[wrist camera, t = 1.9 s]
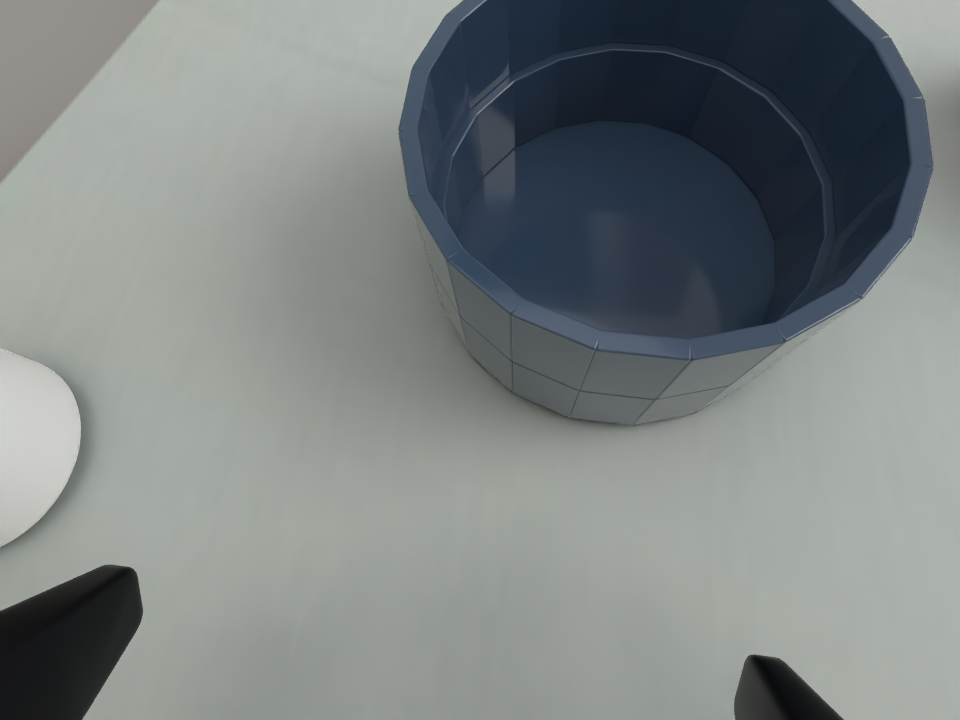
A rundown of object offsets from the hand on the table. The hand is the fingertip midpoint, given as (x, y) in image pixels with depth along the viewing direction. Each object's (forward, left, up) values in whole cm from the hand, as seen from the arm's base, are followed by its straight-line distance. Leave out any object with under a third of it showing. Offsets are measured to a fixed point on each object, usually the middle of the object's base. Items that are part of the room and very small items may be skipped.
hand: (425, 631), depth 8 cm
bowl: (+9, -11, -13) cm, 20 cm away
